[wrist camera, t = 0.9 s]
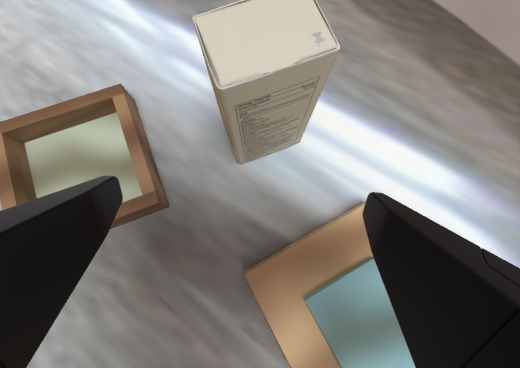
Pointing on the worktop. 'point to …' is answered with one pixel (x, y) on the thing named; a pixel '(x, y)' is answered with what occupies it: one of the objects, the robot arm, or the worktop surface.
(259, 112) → the skincare box
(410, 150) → the worktop surface
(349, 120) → the worktop surface
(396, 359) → the shallow wooden box
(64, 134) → the tray
